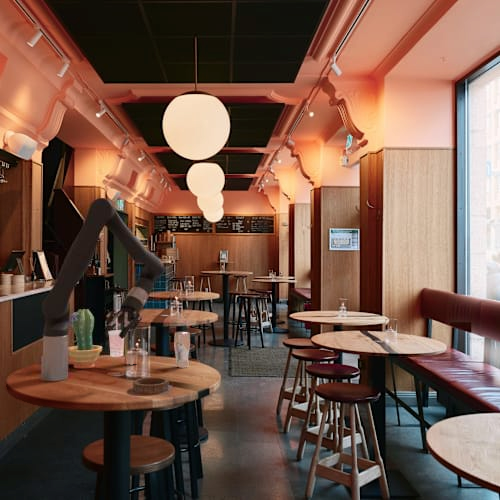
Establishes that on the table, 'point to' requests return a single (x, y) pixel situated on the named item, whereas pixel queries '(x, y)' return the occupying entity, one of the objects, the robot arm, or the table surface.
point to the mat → (157, 393)
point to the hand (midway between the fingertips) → (113, 336)
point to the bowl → (150, 385)
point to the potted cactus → (83, 340)
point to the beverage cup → (116, 343)
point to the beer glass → (182, 348)
